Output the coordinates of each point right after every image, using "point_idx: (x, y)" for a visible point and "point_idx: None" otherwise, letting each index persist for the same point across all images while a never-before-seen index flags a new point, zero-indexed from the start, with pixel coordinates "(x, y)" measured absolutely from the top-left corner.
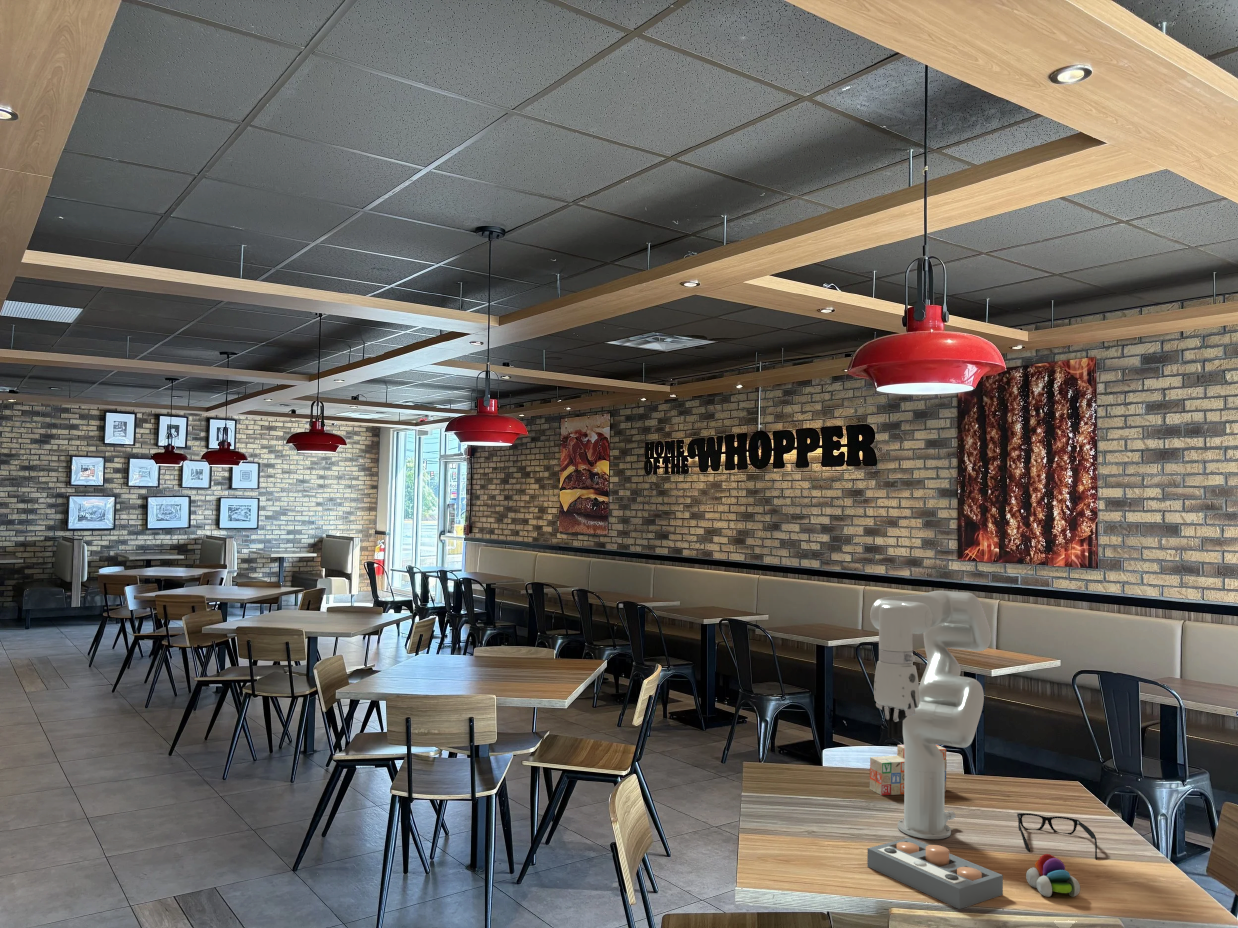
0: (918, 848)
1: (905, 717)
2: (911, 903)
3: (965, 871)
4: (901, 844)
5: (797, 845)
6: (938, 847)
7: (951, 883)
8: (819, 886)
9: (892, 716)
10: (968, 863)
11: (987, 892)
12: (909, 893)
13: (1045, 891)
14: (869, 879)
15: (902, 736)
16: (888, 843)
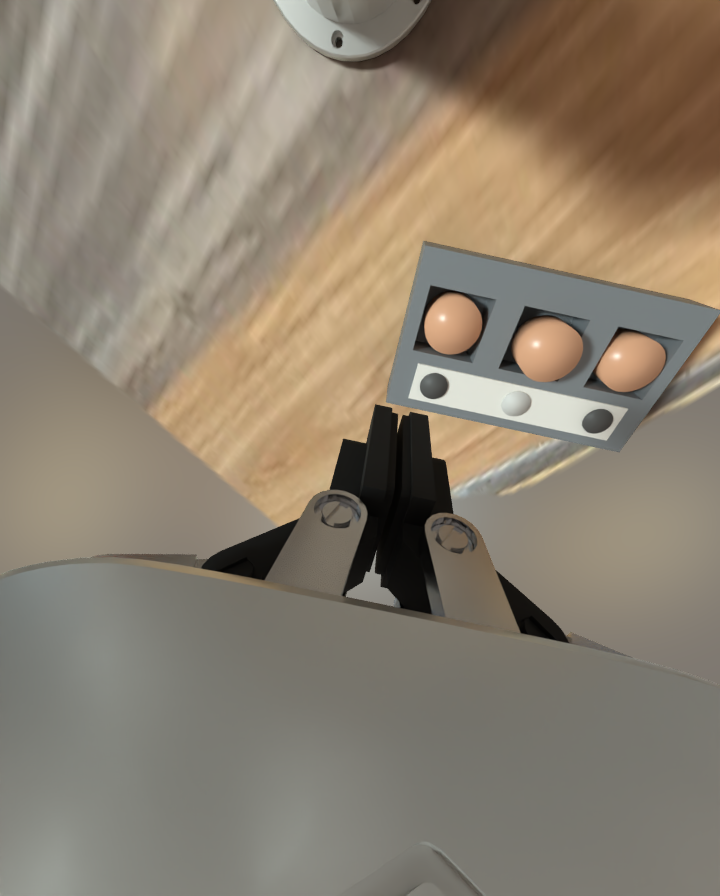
0: (481, 322)
1: (504, 586)
2: (519, 465)
3: (623, 373)
4: (436, 330)
5: (236, 395)
6: (550, 341)
7: (599, 440)
8: None
9: (357, 577)
10: (621, 305)
11: None
12: (503, 435)
13: None
14: None
15: (427, 416)
16: (405, 339)
